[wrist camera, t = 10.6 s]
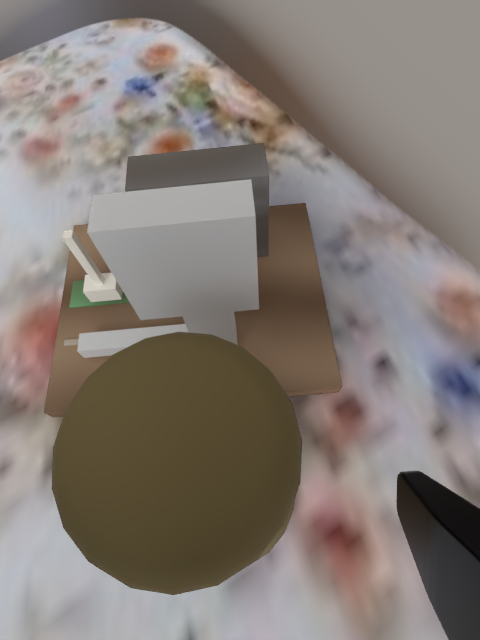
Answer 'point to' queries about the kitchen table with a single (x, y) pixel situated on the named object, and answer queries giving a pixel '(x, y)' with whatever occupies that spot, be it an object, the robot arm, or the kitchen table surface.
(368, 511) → the kitchen table surface
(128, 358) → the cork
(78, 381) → the board
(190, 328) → the block
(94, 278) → the pointer
